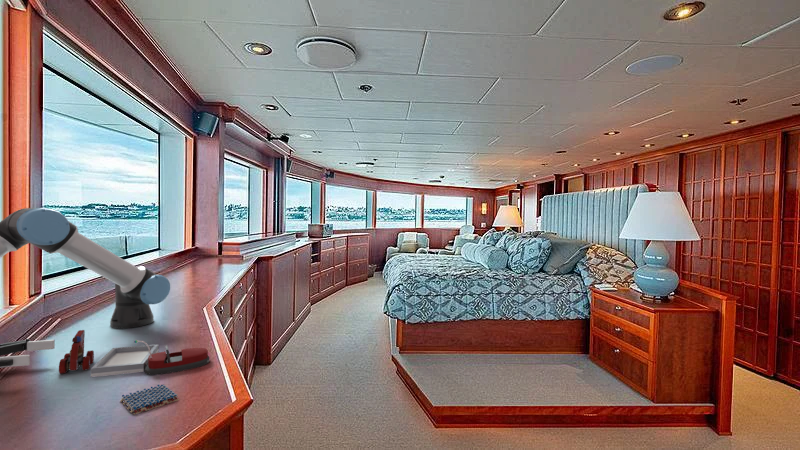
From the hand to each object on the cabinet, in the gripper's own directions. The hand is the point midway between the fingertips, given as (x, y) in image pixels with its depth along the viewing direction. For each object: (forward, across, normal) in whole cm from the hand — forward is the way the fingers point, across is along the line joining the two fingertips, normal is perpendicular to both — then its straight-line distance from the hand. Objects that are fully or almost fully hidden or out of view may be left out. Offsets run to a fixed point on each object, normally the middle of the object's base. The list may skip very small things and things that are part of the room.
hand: (42, 351), depth 116 cm
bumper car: (+35, +7, -6) cm, 37 cm away
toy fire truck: (+8, 0, -6) cm, 10 cm away
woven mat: (+34, +30, -7) cm, 46 cm away
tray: (+21, 0, -6) cm, 22 cm away
